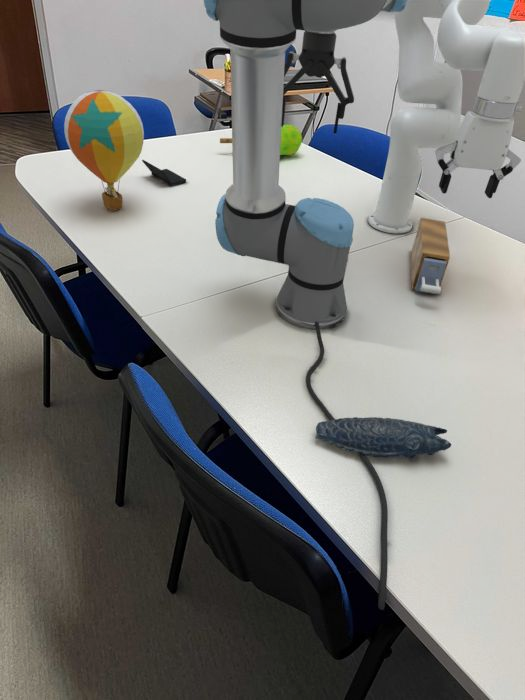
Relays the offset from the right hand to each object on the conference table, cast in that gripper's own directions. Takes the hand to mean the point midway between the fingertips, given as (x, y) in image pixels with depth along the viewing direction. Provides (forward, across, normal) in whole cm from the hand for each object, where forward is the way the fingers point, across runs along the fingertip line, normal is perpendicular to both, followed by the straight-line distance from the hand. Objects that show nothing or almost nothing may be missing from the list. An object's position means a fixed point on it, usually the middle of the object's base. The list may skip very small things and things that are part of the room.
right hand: (465, 193), depth 111 cm
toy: (+23, +86, -24) cm, 92 cm away
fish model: (+22, +19, +54) cm, 61 cm away
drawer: (+22, +3, 0) cm, 22 cm away
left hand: (-2, +34, -27) cm, 44 cm away
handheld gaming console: (+23, +77, -48) cm, 94 cm away
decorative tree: (+23, +49, -81) cm, 97 cm away
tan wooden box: (+23, +2, -5) cm, 24 cm away
